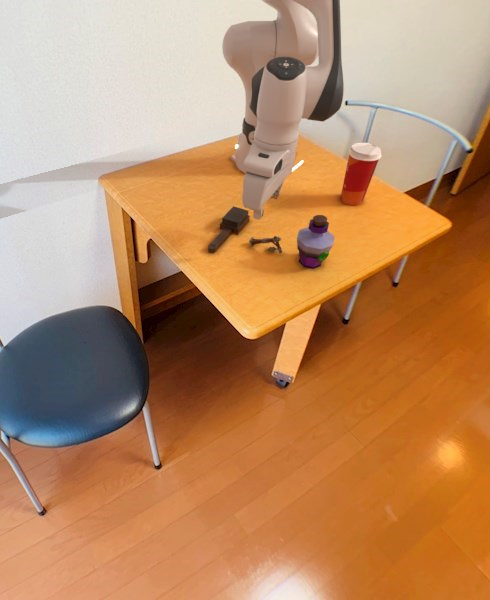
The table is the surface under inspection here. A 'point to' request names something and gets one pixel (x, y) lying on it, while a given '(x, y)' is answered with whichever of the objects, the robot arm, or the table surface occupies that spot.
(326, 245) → the potion bottle
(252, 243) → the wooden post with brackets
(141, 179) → the table surface
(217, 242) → the mallet
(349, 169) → the coffee cup
